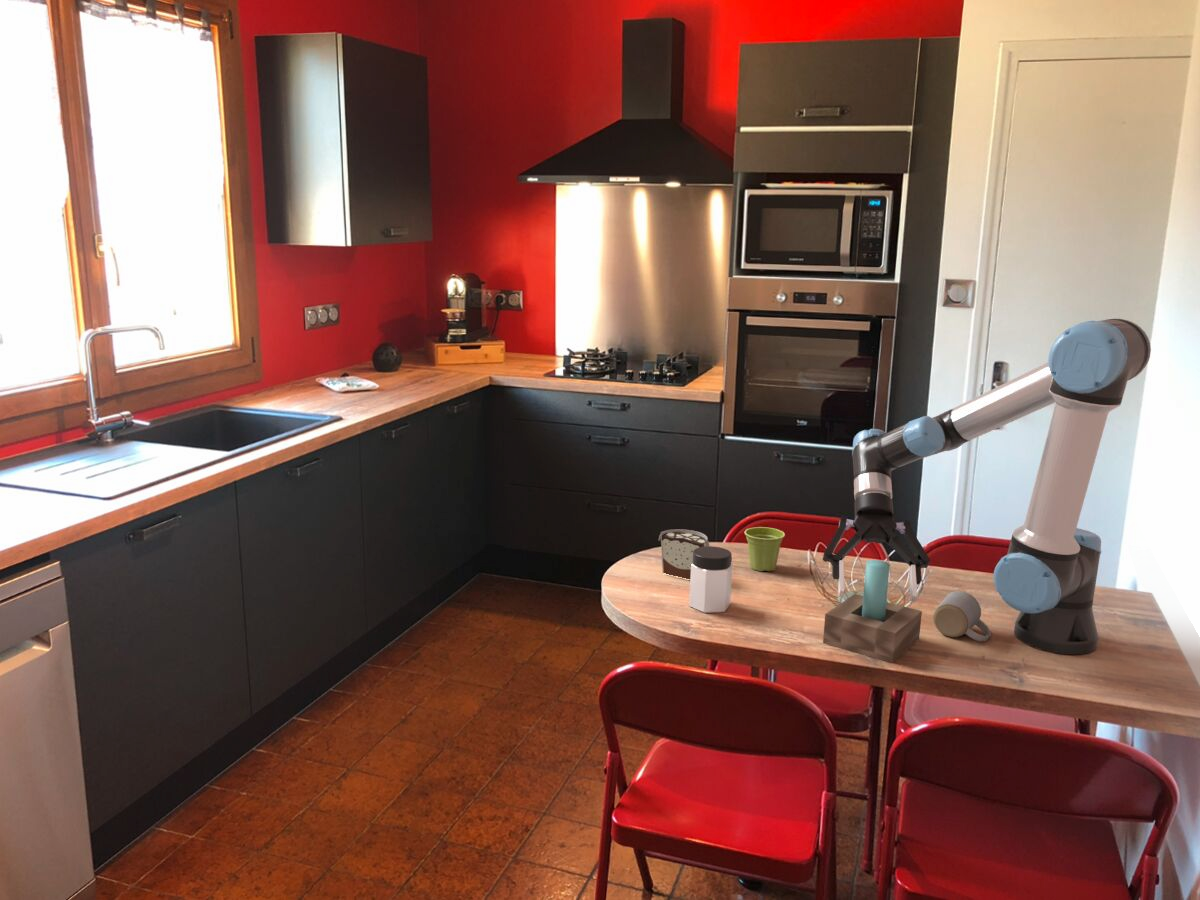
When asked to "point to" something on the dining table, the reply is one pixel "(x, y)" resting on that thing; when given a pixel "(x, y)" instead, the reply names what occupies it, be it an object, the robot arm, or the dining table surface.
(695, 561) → the jar
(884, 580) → the pin
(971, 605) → the ceramic mug
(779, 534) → the plant pot
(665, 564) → the food container
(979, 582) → the dining table surface
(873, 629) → the hole block
